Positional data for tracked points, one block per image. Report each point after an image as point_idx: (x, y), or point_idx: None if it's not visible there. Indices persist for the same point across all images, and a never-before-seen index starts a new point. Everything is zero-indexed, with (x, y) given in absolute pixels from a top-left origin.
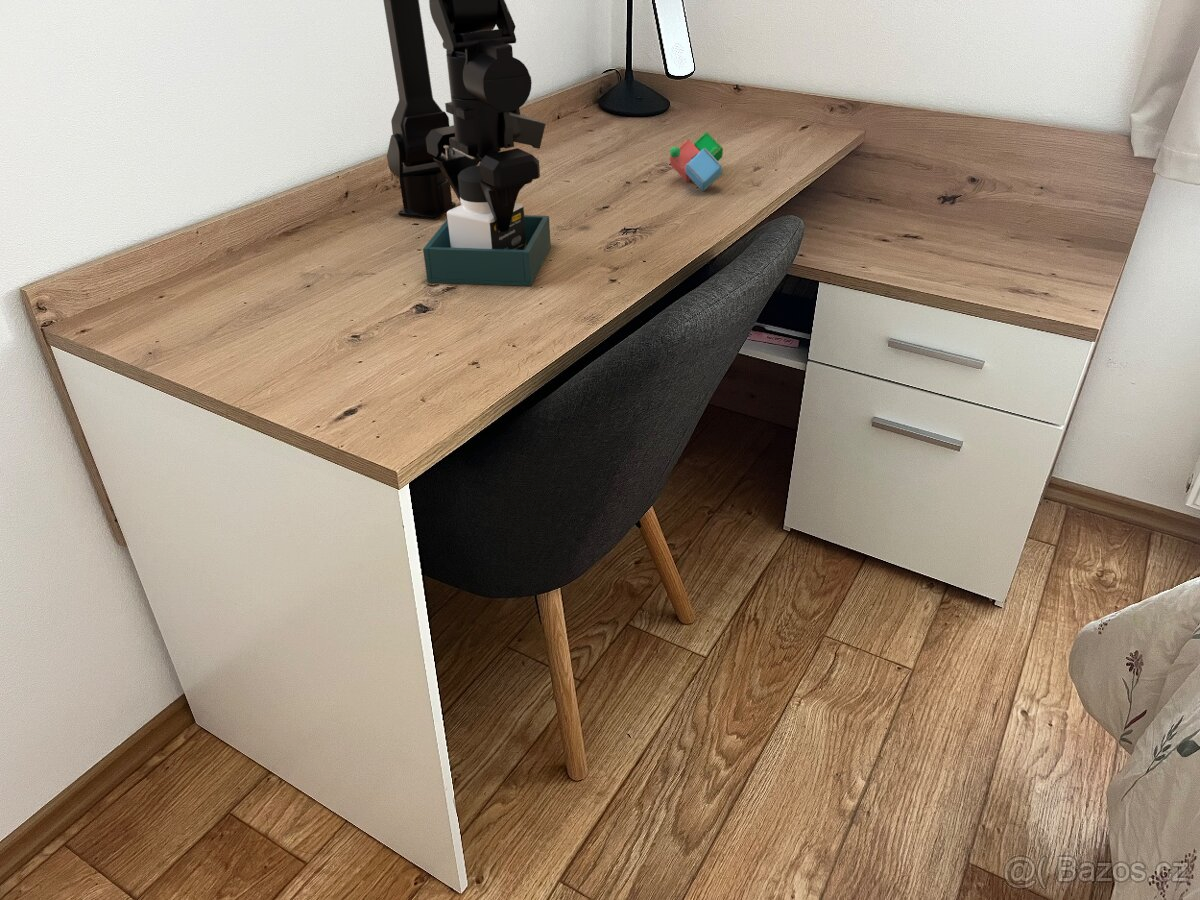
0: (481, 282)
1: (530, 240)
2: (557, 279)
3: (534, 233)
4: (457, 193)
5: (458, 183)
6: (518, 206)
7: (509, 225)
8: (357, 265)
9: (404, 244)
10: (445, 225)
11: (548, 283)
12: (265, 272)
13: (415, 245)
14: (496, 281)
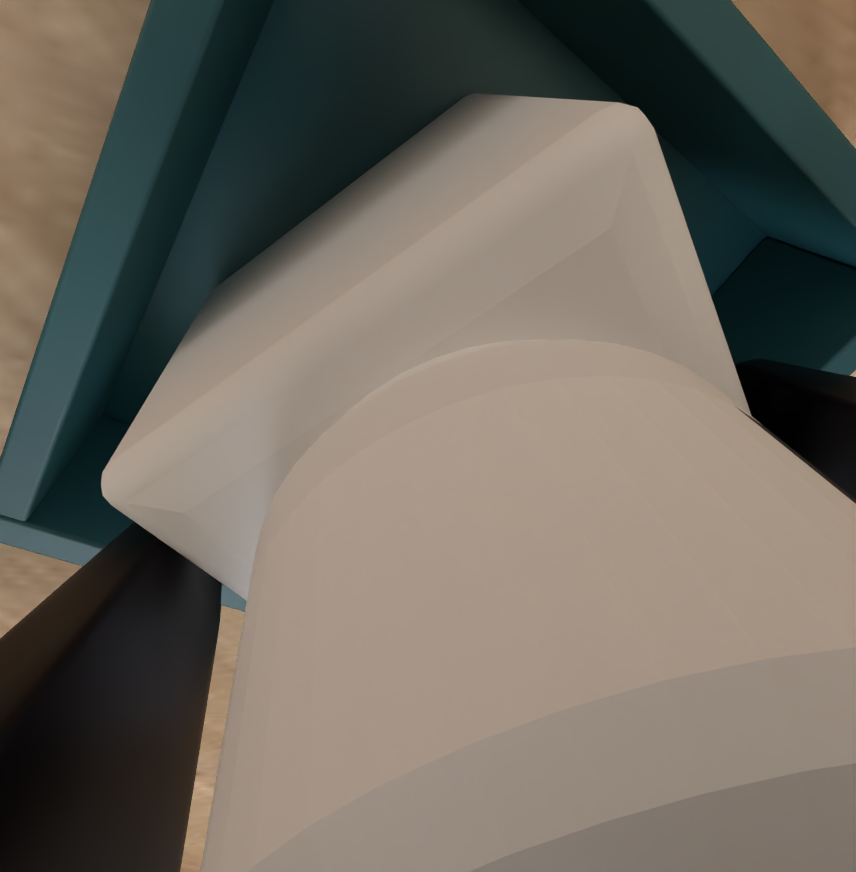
0: None
1: (824, 179)
2: (831, 32)
3: (730, 77)
4: (200, 730)
5: (153, 823)
6: (679, 208)
7: (796, 367)
8: (217, 713)
9: (15, 595)
10: (235, 593)
11: (829, 113)
12: (193, 850)
13: (38, 562)
14: None
